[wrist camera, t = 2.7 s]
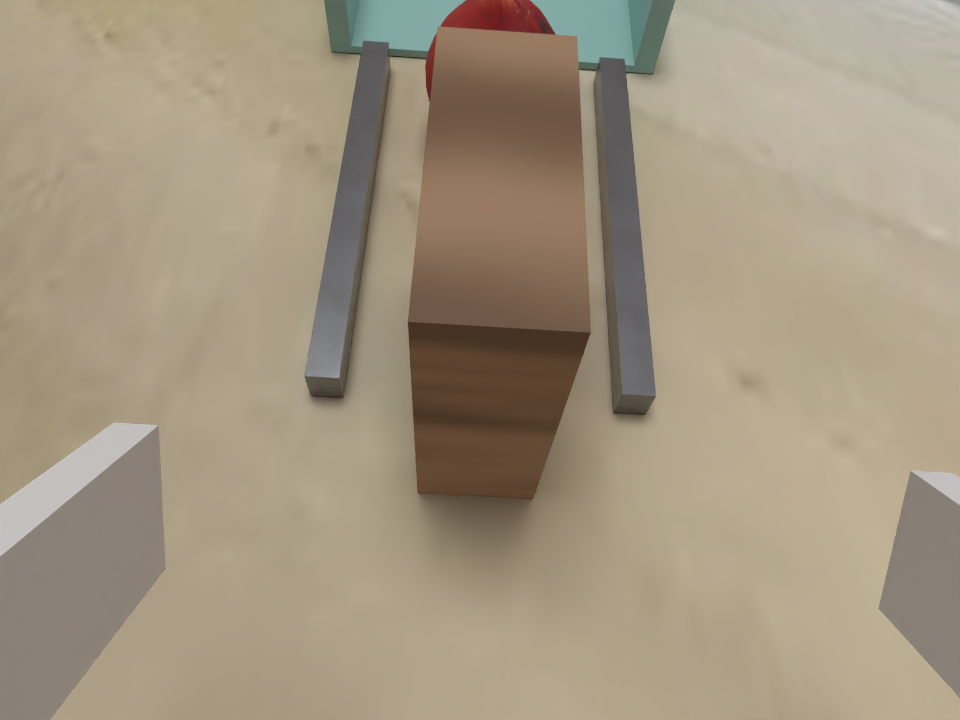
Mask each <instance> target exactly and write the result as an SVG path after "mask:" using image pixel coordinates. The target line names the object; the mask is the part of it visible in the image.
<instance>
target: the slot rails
mask: <svg viewBox="0 0 960 720" xmlns="http://www.w3.org/2000/svg"><path fill="white" fill-rule="evenodd" d="M389 75H390V54H389V42H376V41H363V45H362V51H361V56H360V62H359V68H358V73H357V79H356V85H355V91H354V96H353V102H352V108H351V113H350V119H349V125H348V131H347V136H346V142H345V148H344V153H343V159H342V165H341V171H340V176H339V182H338V188H337V193H336V199H335V205H334V211H333V216H332V222H331V228H330V233H329V239H328V245H327V251H326V256H325V262H324V268H323V273H322V279H321V285H320V291H319V296H318V302H317V308H316V313H315V319H314V325H313V331H312V336H311V342H310V348H309V353H308V359H307V365H306V371H305V379H306V382H307V385H308V389H309V392H310V395H311V396H328V397H344V390H345V383H346V376H347V369H348V362H349V355H350V348H351V341H352V334H353V327H354V320H355V313H356V306H357V299H358V292H359V285H360V278H361V271H362V264H363V257H364V250H365V243H366V236H367V229H368V222H369V215H370V208H371V201H372V194H373V187H374V180H375V173H376V166H377V159H378V152H379V145H380V138H381V131H382V124H383V117H384V110H385V103H386V96H387V89H388V82H389ZM594 96H595V113H596V130H597V147H598V163H599V180H600V197H601V214H602V230H603V247H604V264H605V281H606V297H607V314H608V331H609V348H610V365H611V381H612V398H613V413H631V414H646V412H647V411H648V409H649V407H650V405H651V404H652V402H653V400H654V398H655V397H656V393H655V382H654V371H653V360H652V349H651V339H650V328H649V317H648V306H647V295H646V284H645V274H644V263H643V252H642V241H641V230H640V219H639V209H638V198H637V187H636V176H635V165H634V155H633V144H632V133H631V122H630V111H629V100H628V90H627V79H626V68H625V59H620V58H605V57H599V62H598V66H597V71H596V75H595V79H594Z"/></svg>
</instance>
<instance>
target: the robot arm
mask: <svg viewBox="0 0 960 720" xmlns="http://www.w3.org/2000/svg"><path fill="white" fill-rule="evenodd" d="M164 570H165V551H164V529H163V508H162V487H161V466H160V444H159V425H145V424H128V423H112V424H111V425H110V426H108V427H107V428H105V429H104V430H103V431H101V432H100V433H98V434H97V435H96V436H94V437H93V438H91V439H90V440H89V441H87V442H86V443H85V444H83V445H82V446H80V447H79V448H78V449H76V450H75V451H73V452H72V453H71V454H69V455H68V456H66V457H65V458H64V459H62V460H61V461H59V462H58V463H57V464H55V465H54V466H52V467H51V468H50V469H48V470H47V471H46V472H44V473H43V474H41V475H40V476H39V477H37V478H36V479H34V480H33V481H32V482H30V483H29V484H27V485H26V486H25V487H23V488H22V489H20V490H19V491H18V492H16V493H15V494H13V495H12V496H11V497H9V498H8V499H7V500H5V501H4V502H2V503H1V504H0V720H50V719H51V718H52V716H53V715H54V714H55V712H56V711H57V710H58V708H59V707H60V706H61V704H62V703H63V702H64V701H65V699H66V698H67V697H68V695H69V694H70V693H71V691H72V690H73V689H74V687H75V686H76V685H77V684H78V682H79V681H80V680H81V678H82V677H83V676H84V674H85V673H86V672H87V670H88V669H89V668H90V667H91V665H92V664H93V663H94V661H95V660H96V659H97V657H98V656H99V655H100V653H101V652H102V651H103V649H104V648H105V647H106V646H107V644H108V643H109V642H110V640H111V639H112V638H113V636H114V635H115V634H116V632H117V631H118V630H119V629H120V627H121V626H122V625H123V623H124V622H125V621H126V619H127V618H128V617H129V615H130V614H131V613H132V612H133V610H134V609H135V608H136V606H137V605H138V604H139V602H140V601H141V600H142V598H143V597H144V596H145V595H146V593H147V592H148V591H149V589H150V588H151V587H152V585H153V584H154V583H155V581H156V580H157V579H158V578H159V576H160V575H161V574H162V572H163V571H164ZM879 609H880V610H881V612H882V613H883V614H884V615H885V616H886V617H887V618H888V619H889V620H890V621H891V623H892V624H893V625H894V626H895V627H896V628H897V629H898V630H899V631H900V632H901V634H902V635H903V636H904V637H905V638H906V639H907V640H908V641H909V642H910V644H911V645H912V646H913V647H914V648H915V649H916V650H917V651H918V652H919V653H920V655H921V656H922V657H923V658H924V659H925V660H926V661H927V662H928V663H929V664H930V666H931V667H932V668H933V669H934V670H935V671H936V672H937V673H938V674H939V676H940V677H941V678H942V679H943V680H944V681H945V682H946V683H947V684H948V685H949V687H950V688H951V689H952V690H953V691H954V692H955V693H956V694H957V695H958V696H959V698H960V477H959V476H957V475H955V474H954V473H942V472H925V471H910V476H909V480H908V484H907V488H906V493H905V497H904V501H903V506H902V510H901V514H900V519H899V523H898V527H897V532H896V536H895V540H894V544H893V549H892V553H891V557H890V562H889V566H888V570H887V575H886V579H885V583H884V587H883V592H882V596H881V600H880V605H879Z"/></svg>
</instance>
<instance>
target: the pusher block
mask: <svg viewBox="0 0 960 720" xmlns="http://www.w3.org/2000/svg"><path fill="white" fill-rule="evenodd" d="M408 330H409V348H410V366H411V383H412V401H413V418H414V436H415V454H416V471H417V489H418V493H428V494H447V495H466V496H485V497H504V498H523V499H533V497H534V494H535V491H536V488H537V485H538V483H539V480H540V477H541V474H542V471H543V468H544V465H545V462H546V460H547V457H548V454H549V451H550V448H551V445H552V442H553V439H554V436H555V434H556V431H557V428H558V425H559V422H560V419H561V416H562V413H563V411H564V408H565V405H566V402H567V399H568V396H569V393H570V390H571V387H572V385H573V382H574V379H575V376H576V373H577V370H578V367H579V364H580V362H581V359H582V356H583V353H584V350H585V347H586V344H587V341H588V338H589V336H590V333H591V331H590V309H589V287H588V265H587V243H586V221H585V199H584V176H583V154H582V132H581V110H580V88H579V66H578V44H577V36H567V35H553V34H539V33H524V32H510V31H496V30H482V29H468V28H454V27H440V26H438V27H437V37H436V47H435V57H434V67H433V77H432V87H431V97H430V107H429V117H428V127H427V137H426V147H425V157H424V167H423V177H422V187H421V197H420V207H419V217H418V227H417V237H416V247H415V257H414V267H413V277H412V287H411V297H410V307H409V317H408Z"/></svg>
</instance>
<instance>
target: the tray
mask: <svg viewBox="0 0 960 720" xmlns="http://www.w3.org/2000/svg"><path fill="white" fill-rule="evenodd" d="M324 1H325V9H326V16H327V23H328V30H329V37H330V44H331V51H332V52H346V53H361V51H362V45H363V41H376V42H389V54H390V56H404V57H418V58H427V55H428V50H429V48H430V45H431V43H432V41H433V38H434V36H435V35H436V33H437V27H438V26H441V24H442V22H443V21H444V20H445V18H446V17H447V16H448V15H449V14H450V13H451V12H452V11H453V10H454V9H455V8H457V7H458V6H459V5H460V4H462V3H463V2H464V1H465V0H324ZM530 1H532V2H533V3H534V4H535V5H536V6H537V7H538V8H539V9H540V10H541V12H542V13H543V15H544V16H545V17H546V19H547V21H548V22H549V24H550V26H551V27H552V29H553V31H554V32H555V34H556V35H567V36H577V44H578V66H579V69H591V70H597V66H598V62H599V57H605V58H620V59H625V68H626V72H635V73H649V74H653V70H654V67H655V64H656V61H657V57H658V54H659V51H660V48H661V44H662V41H663V38H664V35H665V31H666V28H667V25H668V22H669V18H670V15H671V12H672V9H673V5H674V2H675V0H530Z"/></svg>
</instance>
